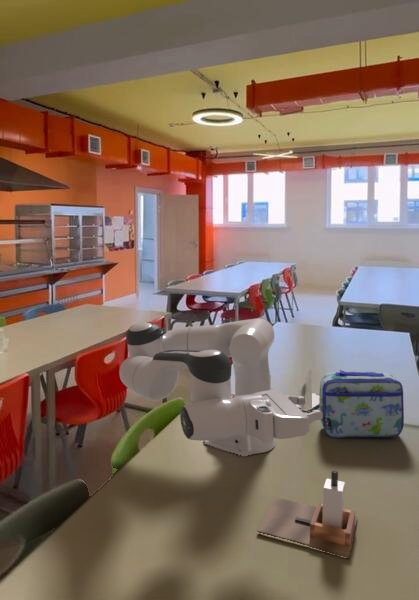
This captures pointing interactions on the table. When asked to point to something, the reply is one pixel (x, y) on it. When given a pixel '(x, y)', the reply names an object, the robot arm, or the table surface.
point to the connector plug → (333, 501)
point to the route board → (308, 526)
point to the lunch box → (361, 404)
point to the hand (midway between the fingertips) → (312, 406)
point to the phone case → (313, 402)
